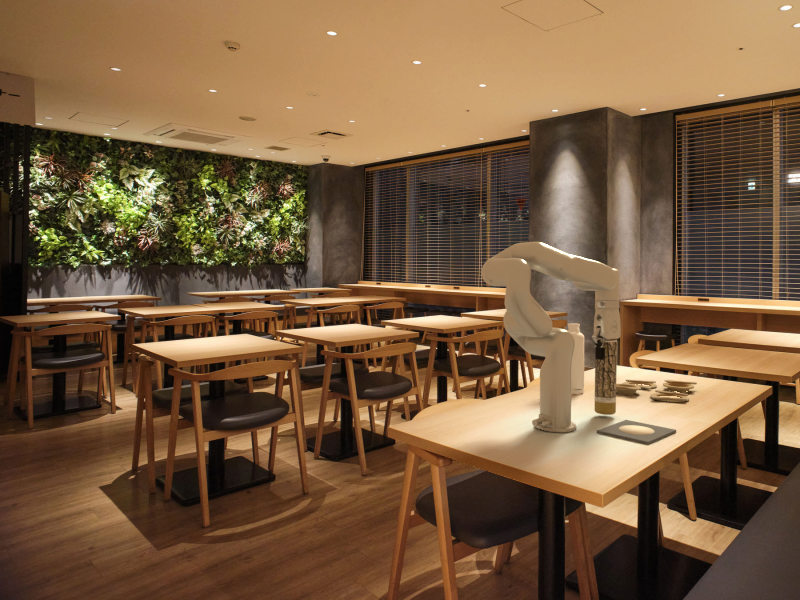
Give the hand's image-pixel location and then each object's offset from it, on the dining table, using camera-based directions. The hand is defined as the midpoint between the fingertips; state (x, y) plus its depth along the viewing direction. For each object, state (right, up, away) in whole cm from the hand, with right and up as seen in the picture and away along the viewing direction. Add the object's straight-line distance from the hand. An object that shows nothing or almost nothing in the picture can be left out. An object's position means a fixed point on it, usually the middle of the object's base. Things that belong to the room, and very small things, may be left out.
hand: (606, 357), depth 190 cm
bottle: (+2, -18, +40) cm, 44 cm away
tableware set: (+33, -19, +38) cm, 54 cm away
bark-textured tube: (0, -19, +1) cm, 19 cm away
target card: (+3, -21, -18) cm, 28 cm away
